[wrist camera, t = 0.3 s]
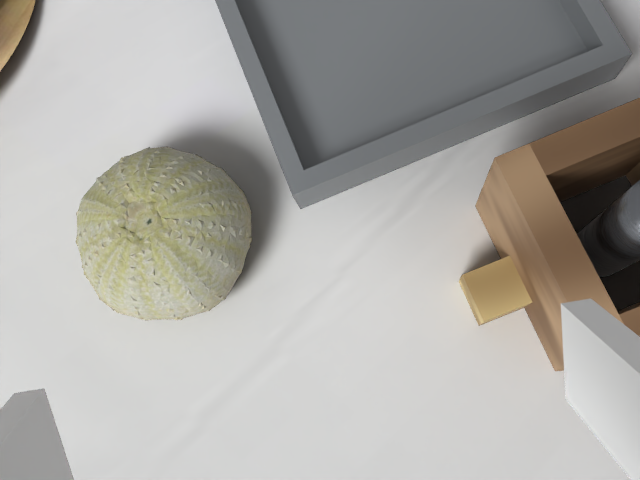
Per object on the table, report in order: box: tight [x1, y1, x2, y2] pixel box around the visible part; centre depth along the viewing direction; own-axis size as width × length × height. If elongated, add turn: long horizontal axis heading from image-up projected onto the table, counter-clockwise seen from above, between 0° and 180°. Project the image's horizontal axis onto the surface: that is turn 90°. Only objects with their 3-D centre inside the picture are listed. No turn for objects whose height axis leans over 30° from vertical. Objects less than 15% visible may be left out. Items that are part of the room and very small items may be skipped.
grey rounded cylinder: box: [577, 180, 640, 277], centre depth 26 cm, size 3×3×8 cm
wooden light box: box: [459, 98, 640, 371], centre depth 27 cm, size 9×11×7 cm
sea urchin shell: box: [76, 147, 252, 320], centre depth 31 cm, size 9×8×8 cm
